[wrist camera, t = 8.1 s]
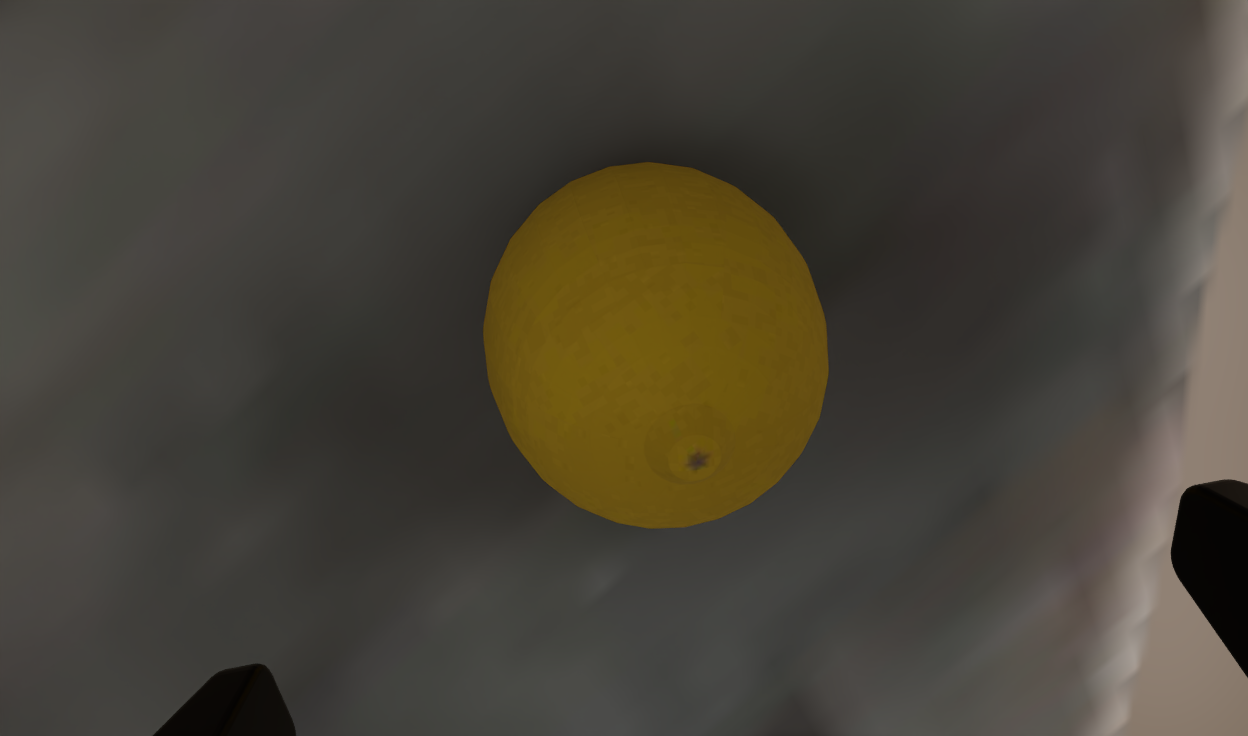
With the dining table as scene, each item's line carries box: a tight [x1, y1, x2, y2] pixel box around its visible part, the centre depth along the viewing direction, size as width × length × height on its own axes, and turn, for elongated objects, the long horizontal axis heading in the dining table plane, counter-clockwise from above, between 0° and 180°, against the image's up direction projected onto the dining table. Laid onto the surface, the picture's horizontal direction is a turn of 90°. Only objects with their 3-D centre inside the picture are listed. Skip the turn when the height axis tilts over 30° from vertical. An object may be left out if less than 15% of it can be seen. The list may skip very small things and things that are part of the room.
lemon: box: [483, 162, 829, 529], centre depth 14 cm, size 6×6×8 cm
